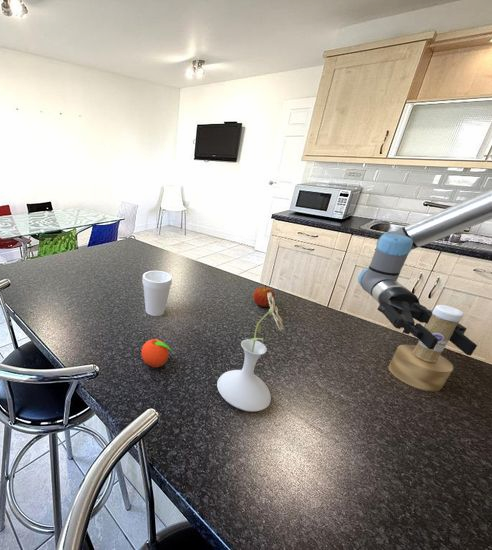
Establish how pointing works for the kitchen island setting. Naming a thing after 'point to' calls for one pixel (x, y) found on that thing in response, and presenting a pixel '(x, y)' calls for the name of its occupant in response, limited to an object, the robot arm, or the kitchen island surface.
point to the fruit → (262, 296)
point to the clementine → (155, 353)
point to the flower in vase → (249, 372)
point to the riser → (419, 369)
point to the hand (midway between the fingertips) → (452, 347)
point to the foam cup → (156, 291)
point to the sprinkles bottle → (439, 331)
